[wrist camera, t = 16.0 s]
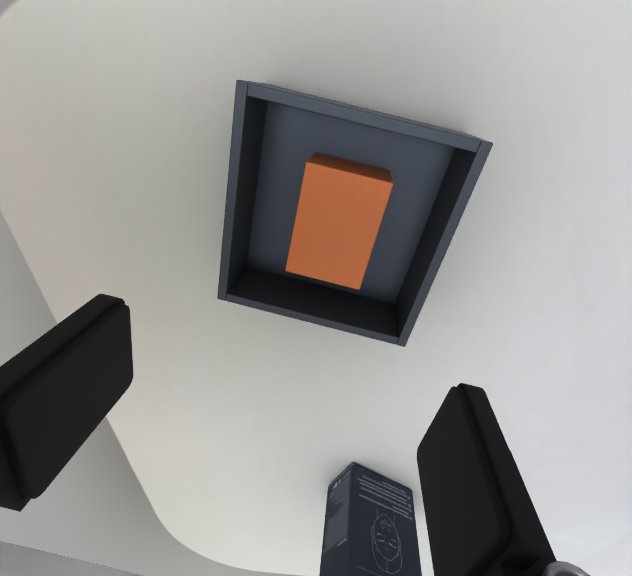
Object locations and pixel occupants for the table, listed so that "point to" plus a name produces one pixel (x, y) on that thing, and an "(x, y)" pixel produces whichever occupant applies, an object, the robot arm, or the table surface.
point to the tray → (283, 196)
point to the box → (369, 527)
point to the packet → (337, 219)
